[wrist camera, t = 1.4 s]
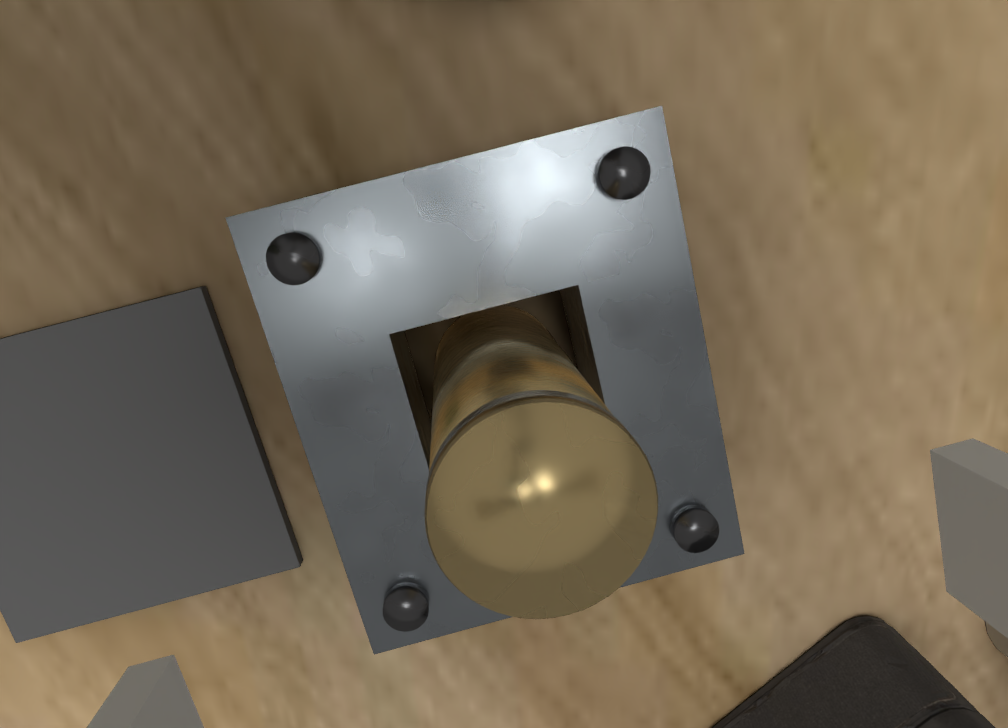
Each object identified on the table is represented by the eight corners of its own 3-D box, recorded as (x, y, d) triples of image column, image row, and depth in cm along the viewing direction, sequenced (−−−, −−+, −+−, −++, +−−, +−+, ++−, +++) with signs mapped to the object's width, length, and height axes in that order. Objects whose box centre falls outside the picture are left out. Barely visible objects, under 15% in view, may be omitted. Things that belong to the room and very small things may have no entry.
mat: (-104, 365, 27) (-116, 369, 26) (205, 285, 27) (200, 287, 27) (24, 634, 30) (15, 643, 29) (302, 559, 30) (300, 566, 30)
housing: (265, 214, 27) (219, 218, 21) (622, 122, 27) (667, 103, 22) (384, 582, 31) (372, 665, 25) (697, 497, 31) (751, 561, 26)
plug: (418, 322, 28) (395, 437, 15) (542, 289, 28) (634, 374, 15) (452, 439, 29) (459, 646, 16) (571, 408, 30) (678, 587, 16)
